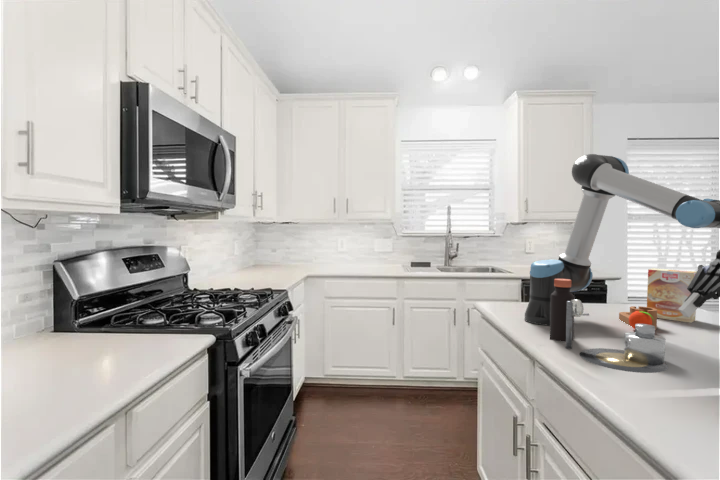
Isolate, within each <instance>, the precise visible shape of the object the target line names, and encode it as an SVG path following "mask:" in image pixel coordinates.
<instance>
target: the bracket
mask: <svg viewBox="0 0 720 480" xmlns="http://www.w3.org/2000/svg"><path fill="white" fill-rule="evenodd" d="M635 311H643V312H647V313H649V314H650V315H651V316H652V317H653V318H652V317H651V316H650V315H649V316H650V317H651V319H652V325H653V326H655V330H657V329H658V327H657V326H658V325H657V324H658V323H657V322H658V318H657V309H655V308H650V307H647V306H639V305H638V307H637V306H634V305H633V306H630V307H629V311H621V312H618V320H619V319H620V320H621V321H620V320H619V321H620V322H622V321H623V322H622V323H624V322H625V323H624V324H625V325H627V324H628V325H627V326H629V325H630V323H629V316H630V315H631V314H632V313H633V312H635ZM653 319H654V320H653ZM629 327H631V325H630V326H629Z"/></svg>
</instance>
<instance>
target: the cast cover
mask: <svg viewBox="0 0 720 480" xmlns="http://www.w3.org/2000/svg"><path fill="white" fill-rule="evenodd" d="M623 349H624V356H625V357H626V358H627V359H630V360H633V361H636V362H641V363H647V364H663V363H665V359H666V358H665V356H666V354H665V353H666V352H665V351H666V338H665V337H663V336H660V335H657V334H656V329H655V326H653V325H648V324H635V329H634V332H633V331H631V332H625V333H624V348H623Z"/></svg>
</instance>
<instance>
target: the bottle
mask: <svg viewBox="0 0 720 480" xmlns="http://www.w3.org/2000/svg"><path fill="white" fill-rule="evenodd" d="M554 286H555V291H554V292H553V293H552V294H551V302H550V325H549V340H550V341H557V342H565V343H566V313H567V301H571V300H573V299H575V295H574V294H573V292H570V289H571V280H570V279H554ZM574 325H575V317H574V316H573V319H572V342H573V341H574V337H575V336H574V333H575V330H574V329H575V327H574Z"/></svg>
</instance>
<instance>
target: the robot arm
mask: <svg viewBox="0 0 720 480" xmlns="http://www.w3.org/2000/svg"><path fill="white" fill-rule="evenodd" d="M629 170H630V169H629V167H628V165H627V163H626V162H625V161H624V160H623V159H622V158H620V157H616V156H613V155H603V154H595V153H588V154H584V155H582V156H580V157H579V158H578V159H576V160H575V162H574V163H573V165H572V167H571V176H572V179H573V180H574V181H575V182H576V184H578V185H579V186H581V189H580V190H581V192H582V193H583V195H582V199H581V202H580V204H579V205H580V206H579V207H578V211H577V213H576V218H575V220H574V223H573V227H572V230H571V232H570V235H569V239H568V242H567V245H566V248H565V251H564V252H563V253H561V254H559V256H558V258H557V259H540V260H536V261H534V262H532V263H531V264H530V270H529V301H528V305H527V306H526V309H525V312H524V321H526V322H528V323H531V324H535V325H543V326H550V302H551V294H552V293H553V292H554V291H555V286H554V279H570V280H571V289H570V292H571V293H574V292H579V291H582V290H584V289H586V288H587V287H589V285H590V284H591V283H592V280H593V271H592V269H591V266H592V261H590V259H589V258H590V256H591V252H592V250H593V247H594V243H595V240H596V239H597V235H598V232H599V229H600V227H601V223H602V221H603V219H604V218H603V217H604V214H605V212H606V209H607V207H608V203H609V200H610V199H613V197H616V196H617V197H619V198H621V199H624V200H627V201H629V202H632V203H635V204H637V205H639V206H641V207H645V208H646V209H648V210H652V211H654V212H657V213H658V214H661V215H664V216H667V217H669V218H672V219H674V220H676V221H677V222H678V223H679V224H680V225H682V226H684V227H686V228H691V229H702V228H711V229H713V228H717V229H720V199H712V198H703V199H701V198H697V197H694V196H691V195H689V194H686V193H682V192H680V191H677V190H675V189H672V188H669V187H666V186H663V185H661V184H657V183H655V182H652V181H649V180H647V179H643V178H641V177H638V176H635V175H632V174H630V171H629ZM696 271H697V273H696V274H695V276H694V278H693V279H692V281H691V283H690V284H689V286H688V288H687V289H688V290H689V292H690V293H691V294H690V295H689V296H688V298H687V299H686V300H685V303H684V304H683V305H682V306H681V307H680V308H679V309H678V310H679V311H680V312H681V313H682V314H683V315H684V316H685V317H690V316H691V315H692V314H693V313H694V312H695V310H697V309H699V308H701V307H702V306H703V305H704V304H705V303H706V301H709V300H710V299H713V300H717V299H718V300H719V298H720V249H719V250H718V251H717V252H716V256H715V259H714V260H712V261H710V263H709V264H708V265H703V264H699V265H698V266H697V270H696Z"/></svg>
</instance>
